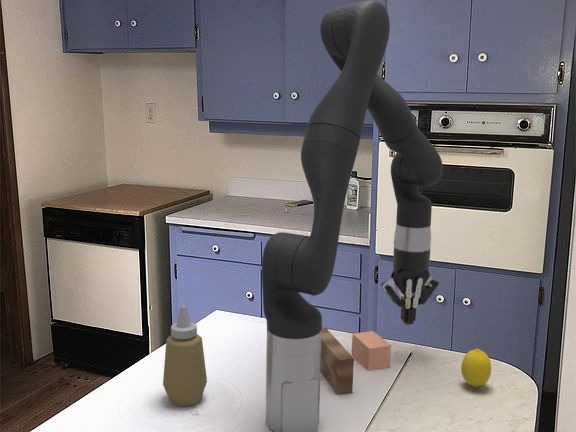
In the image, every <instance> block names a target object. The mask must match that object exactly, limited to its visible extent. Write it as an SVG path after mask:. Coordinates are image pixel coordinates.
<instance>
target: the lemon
mask: <svg viewBox="0 0 576 432" xmlns="http://www.w3.org/2000/svg"><path fill="white" fill-rule="evenodd" d="M491 362H492V361H491V359H490V357H489V355H488V354H487V353H486V352H484V351H482V350H481V349H479V348H475V349H472V350H470V351H467V353H466V354H465V355H464V357H463V359H462V362H461V365H460V367H461V375H462V378H463V379H464V380H465V382H466V383H468V384H469V385H471V386H472V388H478V387H481V386H483V385H485V384H486V383H488V381H489V380H490V378H491V374H492V363H491Z"/></svg>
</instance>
